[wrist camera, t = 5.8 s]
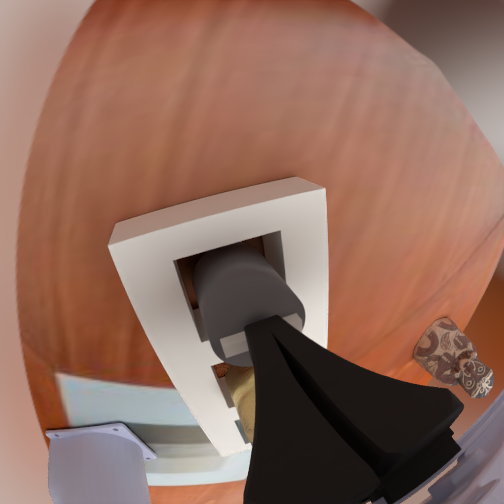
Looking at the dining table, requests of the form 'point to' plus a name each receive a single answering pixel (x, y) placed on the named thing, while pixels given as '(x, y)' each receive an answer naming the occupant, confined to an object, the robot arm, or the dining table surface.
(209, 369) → the control deck
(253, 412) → the brass knob middle
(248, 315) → the black knob
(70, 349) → the dining table surface
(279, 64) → the dining table surface
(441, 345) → the figurine
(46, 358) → the dining table surface
